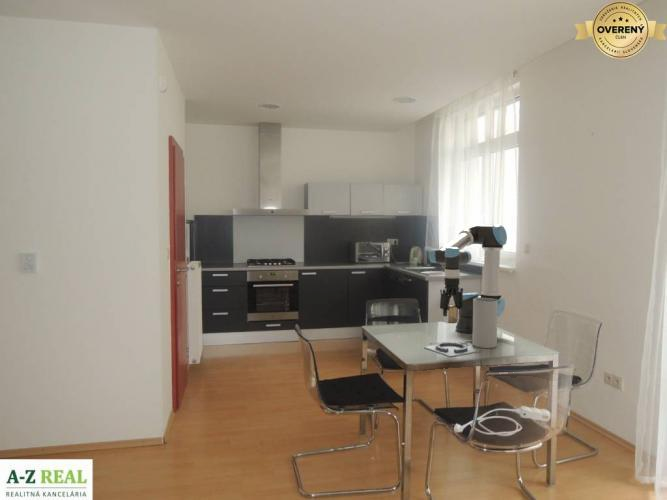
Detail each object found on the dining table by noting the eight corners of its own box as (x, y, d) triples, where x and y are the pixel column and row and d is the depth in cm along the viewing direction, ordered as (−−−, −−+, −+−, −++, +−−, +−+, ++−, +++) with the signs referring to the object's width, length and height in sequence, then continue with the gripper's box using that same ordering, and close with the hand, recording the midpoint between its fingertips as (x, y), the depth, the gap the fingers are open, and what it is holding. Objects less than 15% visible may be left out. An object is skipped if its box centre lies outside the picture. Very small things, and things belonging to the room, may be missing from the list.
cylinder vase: (482, 349, 258) (483, 302, 256) (467, 344, 270) (468, 298, 268) (501, 347, 263) (502, 300, 261) (486, 341, 274) (487, 297, 273)
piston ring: (452, 343, 269) (452, 340, 269) (474, 350, 254) (474, 347, 254) (428, 347, 261) (428, 344, 260) (450, 354, 246) (450, 351, 246)
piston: (451, 320, 262) (451, 304, 261) (459, 322, 256) (460, 306, 255) (441, 321, 258) (442, 305, 258) (450, 323, 253) (450, 307, 252)
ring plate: (452, 343, 271) (452, 342, 271) (479, 351, 254) (479, 350, 254) (424, 347, 261) (424, 346, 261) (450, 357, 244) (450, 355, 244)
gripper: (460, 275, 263) (460, 318, 265) (432, 277, 254) (432, 322, 255) (471, 277, 257) (470, 320, 258) (442, 279, 247) (442, 324, 249)
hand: (451, 321), depth 257 cm, fingers closed on piston, 6 cm apart
